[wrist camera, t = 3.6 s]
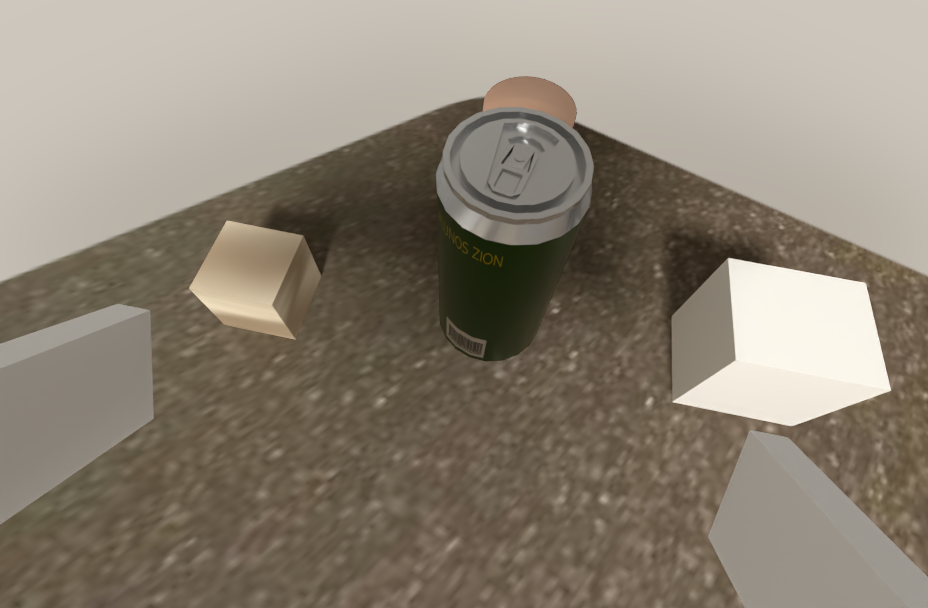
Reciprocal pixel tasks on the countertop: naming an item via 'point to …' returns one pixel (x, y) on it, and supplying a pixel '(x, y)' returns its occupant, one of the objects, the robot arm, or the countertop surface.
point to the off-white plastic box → (776, 344)
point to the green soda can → (506, 225)
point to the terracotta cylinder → (532, 97)
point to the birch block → (258, 279)
